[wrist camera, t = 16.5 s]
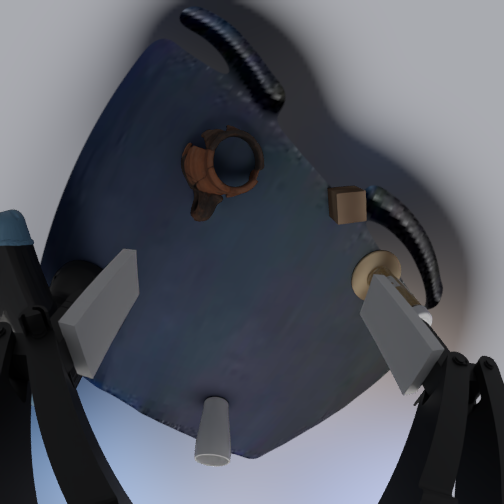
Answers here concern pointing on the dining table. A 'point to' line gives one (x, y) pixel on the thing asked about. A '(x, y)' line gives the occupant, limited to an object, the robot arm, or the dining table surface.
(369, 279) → the sprinkles bottle
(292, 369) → the dining table surface
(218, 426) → the drinking glass
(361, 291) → the cork coaster
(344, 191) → the walnut block
